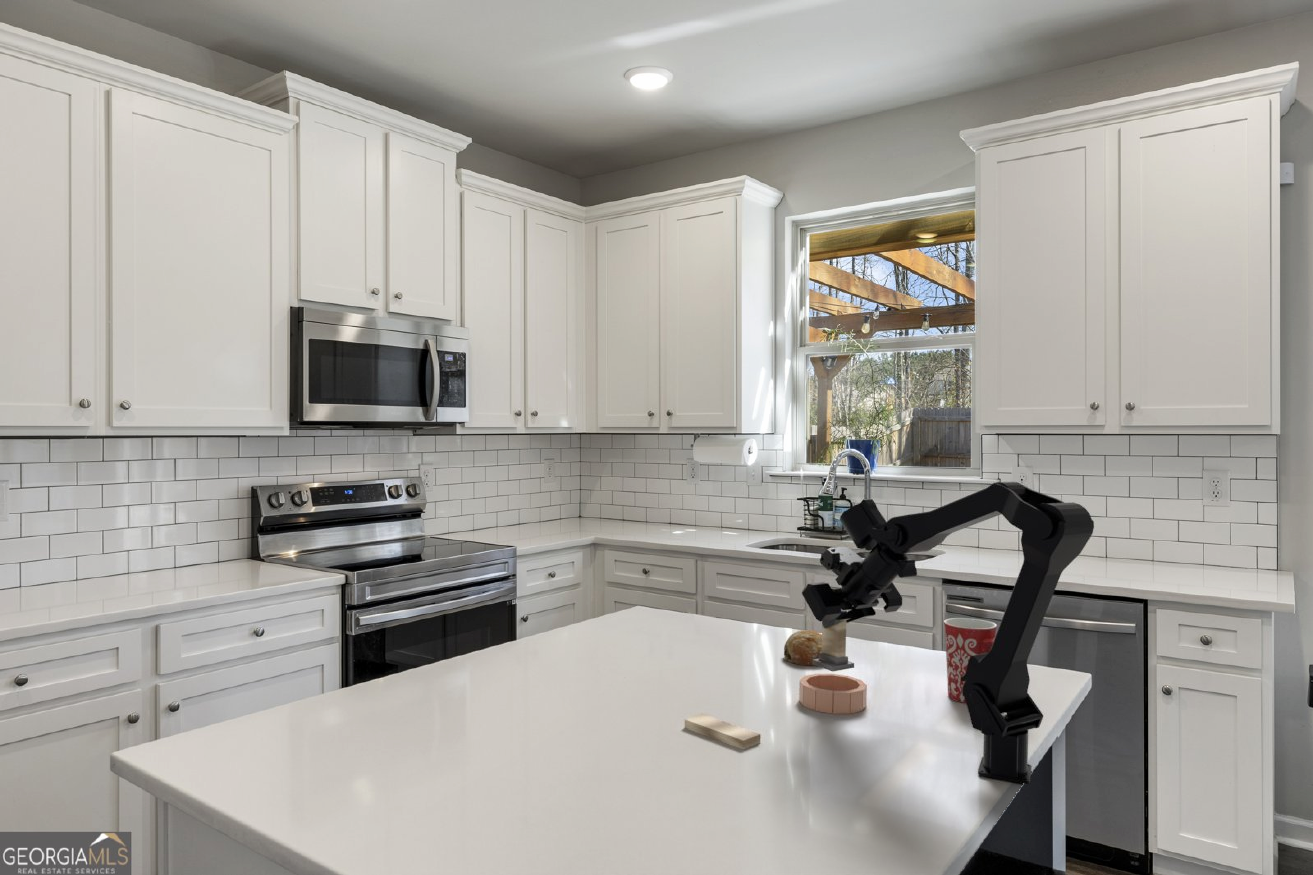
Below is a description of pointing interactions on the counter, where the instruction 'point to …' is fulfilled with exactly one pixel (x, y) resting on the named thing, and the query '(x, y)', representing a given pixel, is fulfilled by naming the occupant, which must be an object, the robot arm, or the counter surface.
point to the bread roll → (803, 647)
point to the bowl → (833, 693)
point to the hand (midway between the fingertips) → (828, 625)
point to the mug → (965, 648)
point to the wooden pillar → (834, 649)
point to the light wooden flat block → (722, 731)
